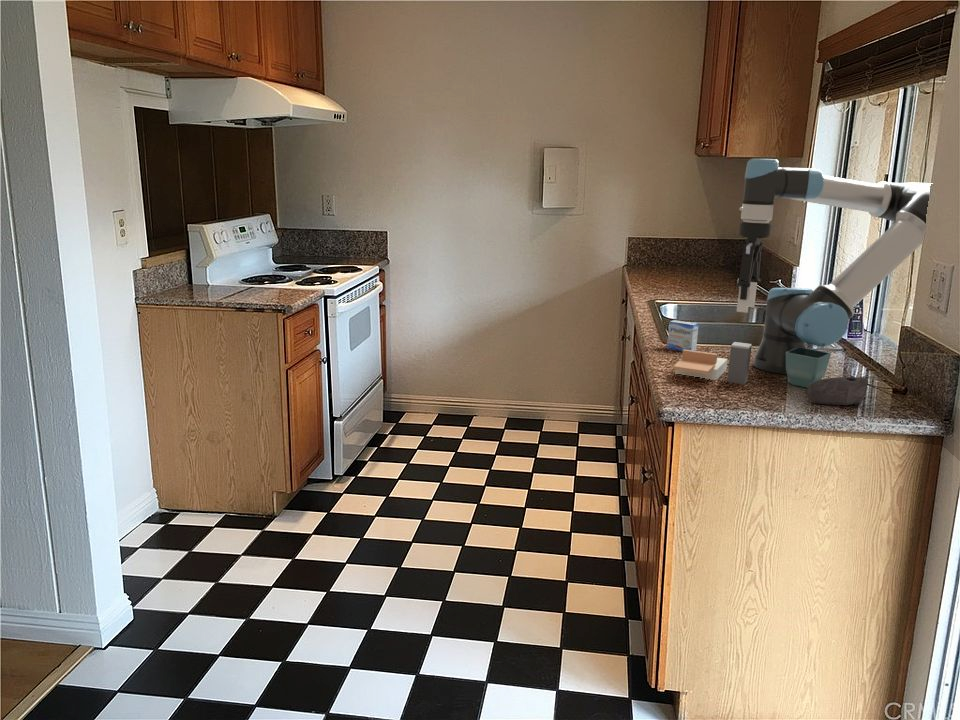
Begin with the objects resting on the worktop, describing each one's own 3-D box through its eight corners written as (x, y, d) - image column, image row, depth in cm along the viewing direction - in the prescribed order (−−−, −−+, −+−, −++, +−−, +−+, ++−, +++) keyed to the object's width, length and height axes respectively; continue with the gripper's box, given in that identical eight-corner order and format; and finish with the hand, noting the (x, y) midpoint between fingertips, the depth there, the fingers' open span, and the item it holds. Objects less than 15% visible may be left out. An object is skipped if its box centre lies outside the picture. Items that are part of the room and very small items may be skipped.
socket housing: (726, 369, 225) (727, 359, 225) (715, 380, 213) (717, 369, 213) (687, 363, 230) (688, 353, 230) (674, 374, 218) (675, 363, 217)
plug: (747, 380, 215) (751, 344, 212) (744, 384, 211) (748, 347, 208) (730, 377, 217) (734, 341, 214) (726, 381, 213) (731, 344, 210)
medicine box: (666, 348, 248) (668, 321, 246) (671, 346, 252) (674, 319, 249) (691, 353, 244) (693, 325, 242) (696, 350, 247) (699, 322, 245)
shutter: (716, 365, 216) (717, 353, 215) (707, 374, 207) (708, 361, 206) (682, 361, 220) (684, 349, 219) (673, 369, 211) (674, 356, 210)
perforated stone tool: (808, 406, 193) (812, 378, 192) (800, 400, 198) (804, 373, 197) (871, 409, 193) (876, 381, 191) (862, 402, 198) (866, 375, 196)
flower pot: (814, 392, 206) (819, 358, 203) (780, 384, 211) (785, 351, 209) (827, 385, 212) (831, 352, 210) (793, 378, 218) (798, 346, 216)
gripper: (748, 218, 214) (738, 301, 220) (732, 222, 196) (722, 313, 201) (777, 220, 211) (767, 304, 217) (764, 224, 192) (753, 317, 198)
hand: (745, 309), depth 209 cm, fingers open, 9 cm apart
